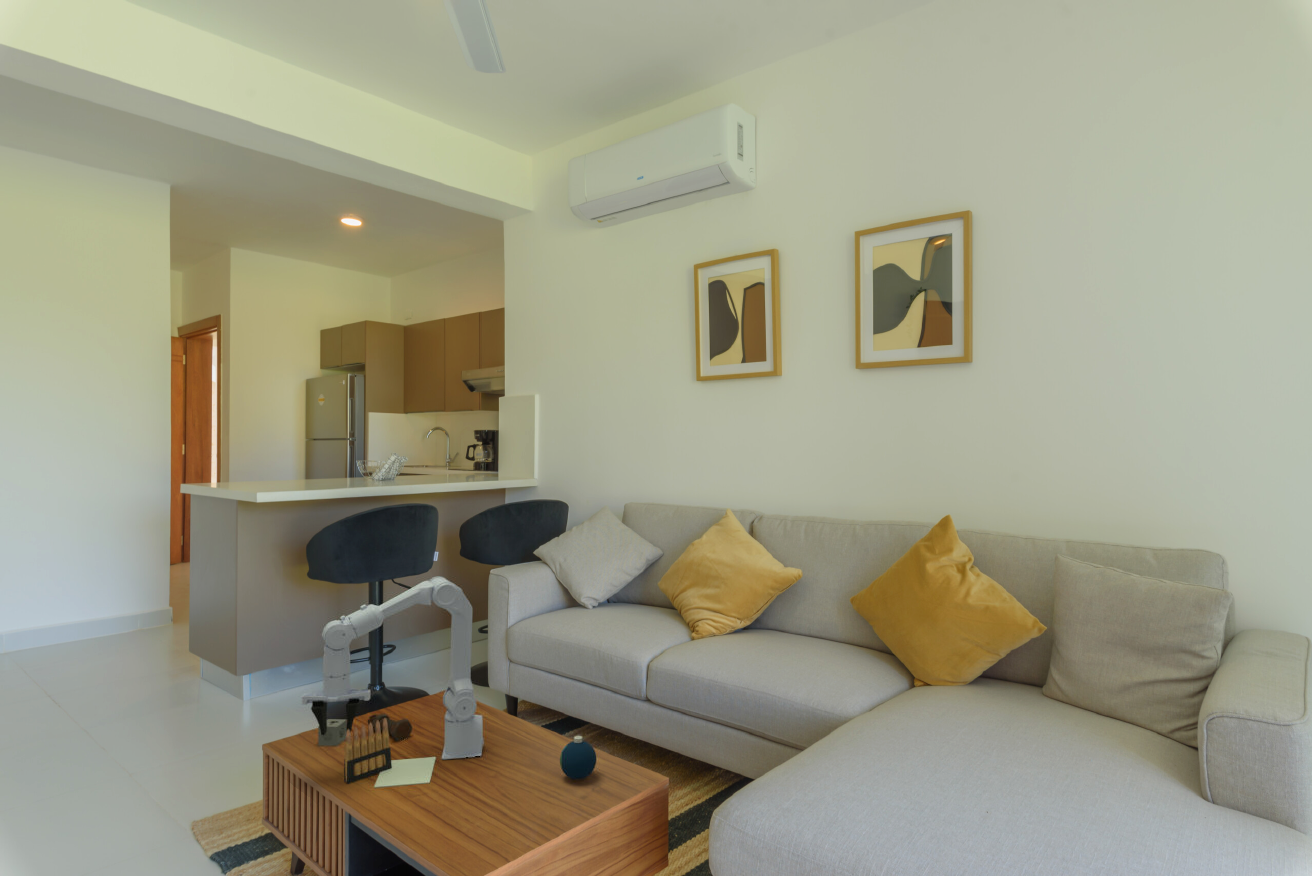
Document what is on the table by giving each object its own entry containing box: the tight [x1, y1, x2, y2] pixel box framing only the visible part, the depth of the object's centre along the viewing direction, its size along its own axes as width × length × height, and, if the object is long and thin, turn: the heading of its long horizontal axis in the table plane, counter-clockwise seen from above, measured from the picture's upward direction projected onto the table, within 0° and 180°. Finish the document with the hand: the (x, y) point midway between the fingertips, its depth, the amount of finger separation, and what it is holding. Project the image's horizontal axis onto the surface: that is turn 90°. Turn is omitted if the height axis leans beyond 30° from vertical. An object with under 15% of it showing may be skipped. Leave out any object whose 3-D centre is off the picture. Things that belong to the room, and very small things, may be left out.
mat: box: [373, 756, 437, 789], centre depth 173 cm, size 12×14×1 cm
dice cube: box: [317, 718, 347, 747], centre depth 191 cm, size 5×5×5 cm
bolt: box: [367, 713, 413, 742], centre depth 197 cm, size 6×5×15 cm
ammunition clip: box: [343, 718, 392, 785], centre depth 171 cm, size 11×2×12 cm, turn 136°
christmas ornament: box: [559, 734, 597, 781], centre depth 170 cm, size 8×8×10 cm
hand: (336, 732), depth 170 cm, fingers open, 5 cm apart
